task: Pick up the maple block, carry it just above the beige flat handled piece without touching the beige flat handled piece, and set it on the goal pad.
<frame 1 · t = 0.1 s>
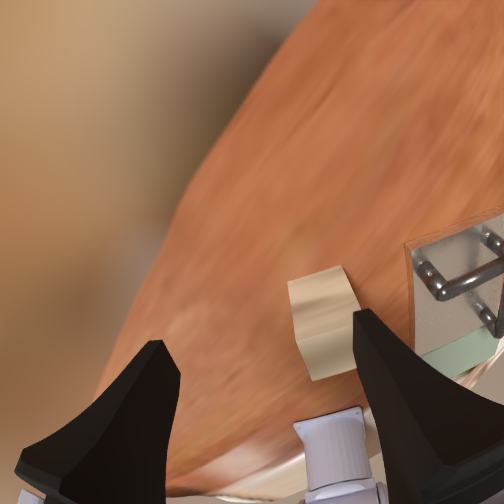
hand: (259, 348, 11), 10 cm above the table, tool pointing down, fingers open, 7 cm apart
goal pad: (449, 354, 25), on the table
maple block: (320, 294, 22), on the table
beige flat handled piece: (448, 288, 21), on the table
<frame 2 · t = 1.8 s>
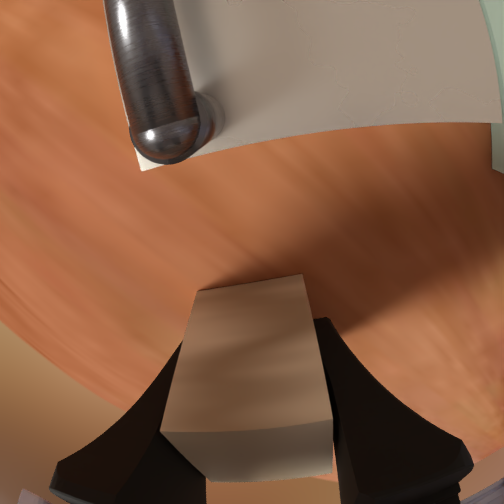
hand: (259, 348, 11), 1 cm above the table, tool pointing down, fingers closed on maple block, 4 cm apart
maple block: (258, 323, 12), on the table, touching gripper
beige flat handled piece: (315, 8, 7), on the table
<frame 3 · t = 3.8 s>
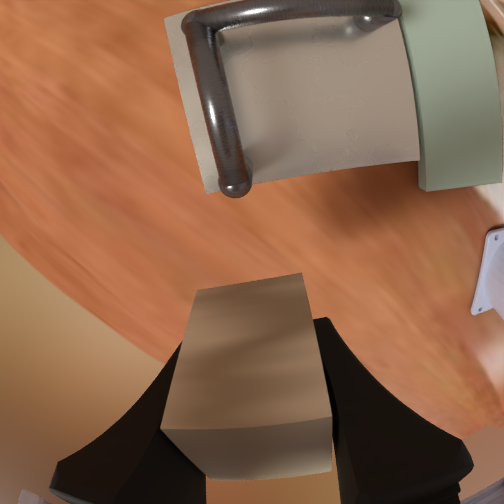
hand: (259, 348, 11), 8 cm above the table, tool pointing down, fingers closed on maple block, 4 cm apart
goal pad: (452, 76, 12), on the table
maple block: (258, 322, 12), point 7 cm above the table, touching gripper
beige flat handled piece: (303, 97, 14), on the table
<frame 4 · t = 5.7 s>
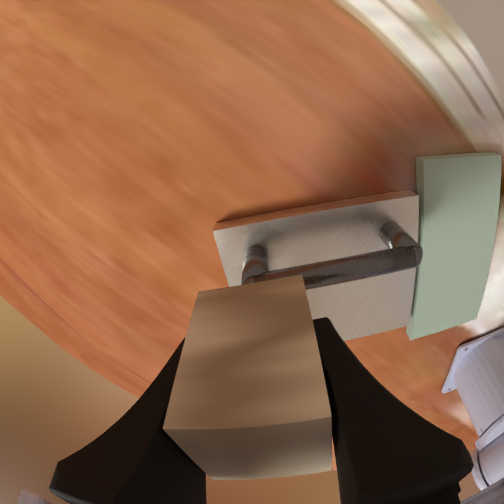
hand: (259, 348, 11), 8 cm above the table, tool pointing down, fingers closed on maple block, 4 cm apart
goal pad: (453, 249, 18), on the table
maple block: (259, 323, 12), point 7 cm above the table, touching gripper
beige flat handled piece: (327, 289, 19), on the table
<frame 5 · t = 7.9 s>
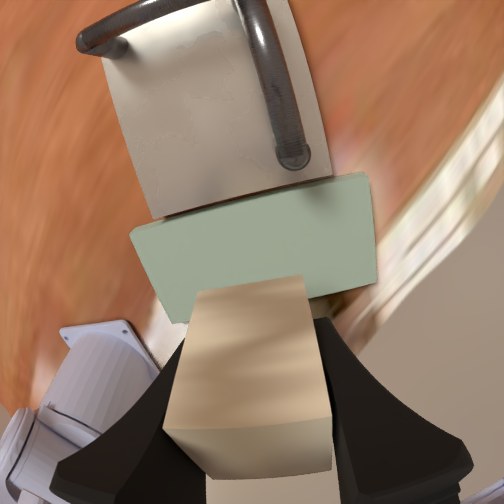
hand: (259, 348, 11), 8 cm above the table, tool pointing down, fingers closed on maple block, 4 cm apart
goal pad: (258, 251, 18), on the table
maple block: (259, 322, 12), point 7 cm above the table, touching gripper
beige flat handled piece: (192, 92, 14), on the table
when the fingers open (3 cm above the table, at t = 9.6 s): maple block stays where it is, resting on goal pad.
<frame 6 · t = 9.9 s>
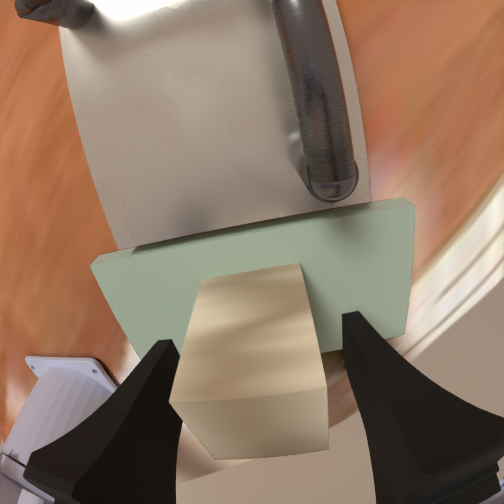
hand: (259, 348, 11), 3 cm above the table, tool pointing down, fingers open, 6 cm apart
goal pad: (258, 295, 14), on the table
maple block: (259, 309, 13), point 1 cm above the table, touching goal pad
beige flat handled piece: (177, 73, 9), on the table
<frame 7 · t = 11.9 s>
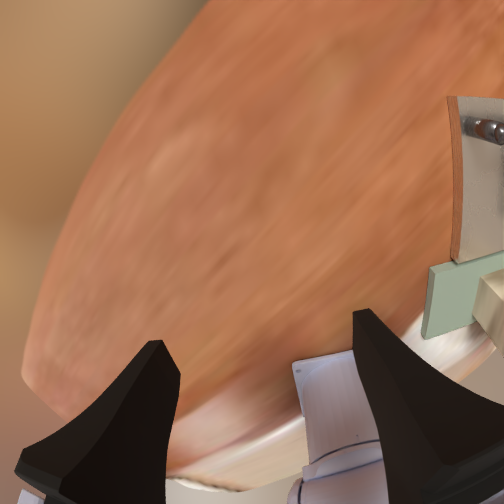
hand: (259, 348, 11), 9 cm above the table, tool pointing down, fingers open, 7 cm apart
goal pad: (485, 283, 20), on the table
maple block: (491, 290, 20), point 1 cm above the table, touching goal pad
beige flat handled piece: (490, 176, 16), on the table
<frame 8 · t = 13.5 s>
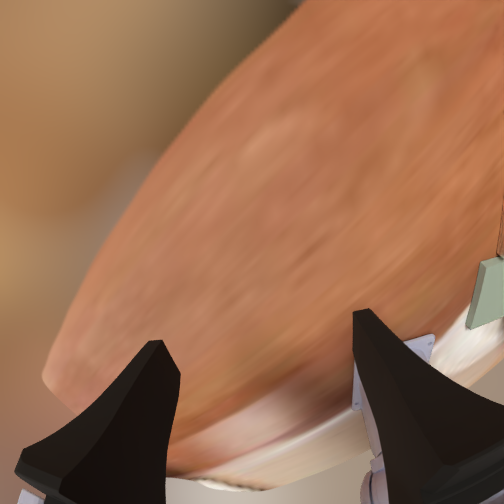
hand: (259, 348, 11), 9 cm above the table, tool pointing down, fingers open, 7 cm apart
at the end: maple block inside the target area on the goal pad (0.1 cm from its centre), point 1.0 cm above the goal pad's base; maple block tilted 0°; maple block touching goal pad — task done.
